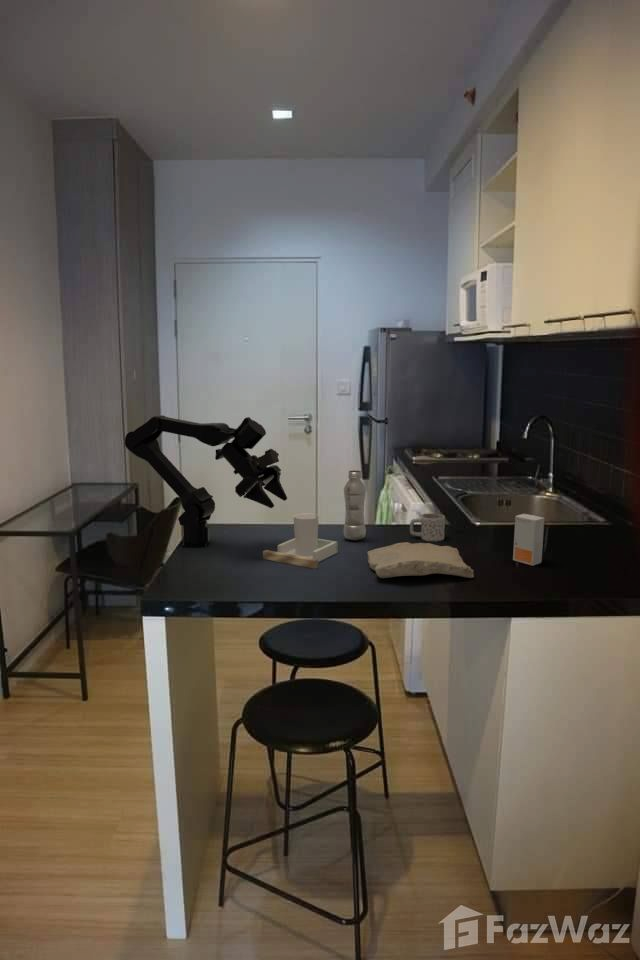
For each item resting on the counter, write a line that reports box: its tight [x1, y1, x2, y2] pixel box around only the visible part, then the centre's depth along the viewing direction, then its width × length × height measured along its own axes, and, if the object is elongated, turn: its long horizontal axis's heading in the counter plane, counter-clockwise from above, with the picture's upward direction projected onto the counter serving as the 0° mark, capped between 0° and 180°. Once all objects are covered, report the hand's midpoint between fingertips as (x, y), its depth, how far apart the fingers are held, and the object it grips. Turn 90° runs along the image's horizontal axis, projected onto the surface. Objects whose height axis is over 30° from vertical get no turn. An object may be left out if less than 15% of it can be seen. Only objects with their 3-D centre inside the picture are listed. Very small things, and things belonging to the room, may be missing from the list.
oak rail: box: [262, 549, 319, 569], centre depth 171 cm, size 16×2×2 cm, turn 58°
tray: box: [277, 537, 339, 563], centre depth 178 cm, size 12×12×3 cm
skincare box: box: [512, 513, 545, 567], centre depth 170 cm, size 6×4×12 cm
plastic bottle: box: [343, 469, 367, 541], centre depth 191 cm, size 6×7×20 cm
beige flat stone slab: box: [367, 542, 475, 579], centre depth 164 cm, size 24×8×20 cm
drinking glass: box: [293, 512, 320, 556], centre depth 177 cm, size 7×7×10 cm
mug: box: [409, 512, 446, 542], centre depth 193 cm, size 10×7×7 cm, turn 89°
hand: (279, 503), depth 178 cm, fingers open, 9 cm apart
